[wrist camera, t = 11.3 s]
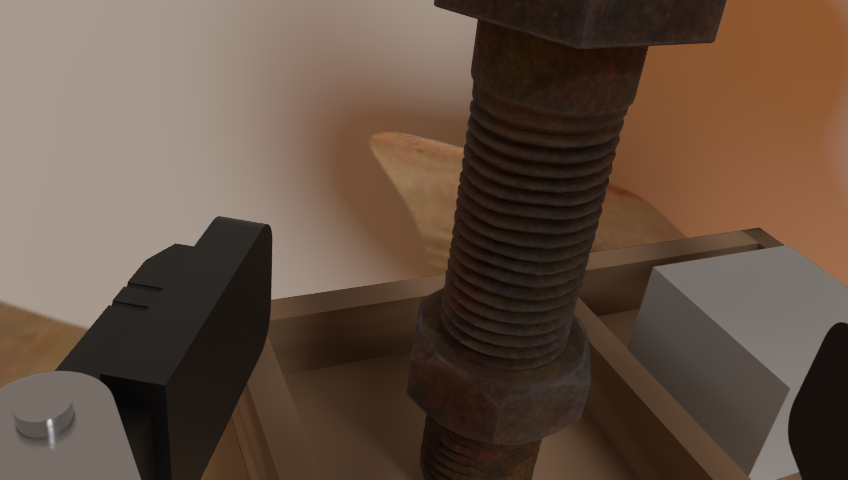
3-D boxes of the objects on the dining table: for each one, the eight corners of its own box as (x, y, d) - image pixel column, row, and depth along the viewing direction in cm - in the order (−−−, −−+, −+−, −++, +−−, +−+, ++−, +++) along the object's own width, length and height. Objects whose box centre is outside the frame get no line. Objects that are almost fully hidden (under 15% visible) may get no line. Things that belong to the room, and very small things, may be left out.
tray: (732, 296, 34) (759, 227, 33) (1046, 555, 24) (1111, 475, 22) (224, 392, 26) (222, 307, 24) (363, 863, 15) (377, 774, 14)
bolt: (416, 585, 19) (518, -49, 11) (346, 440, 23) (387, -112, 15) (607, 518, 22) (802, -46, 14) (516, 396, 25) (627, -101, 18)
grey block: (751, 333, 30) (788, 245, 28) (882, 445, 25) (937, 350, 23) (623, 361, 28) (653, 266, 26) (742, 490, 23) (790, 388, 21)
